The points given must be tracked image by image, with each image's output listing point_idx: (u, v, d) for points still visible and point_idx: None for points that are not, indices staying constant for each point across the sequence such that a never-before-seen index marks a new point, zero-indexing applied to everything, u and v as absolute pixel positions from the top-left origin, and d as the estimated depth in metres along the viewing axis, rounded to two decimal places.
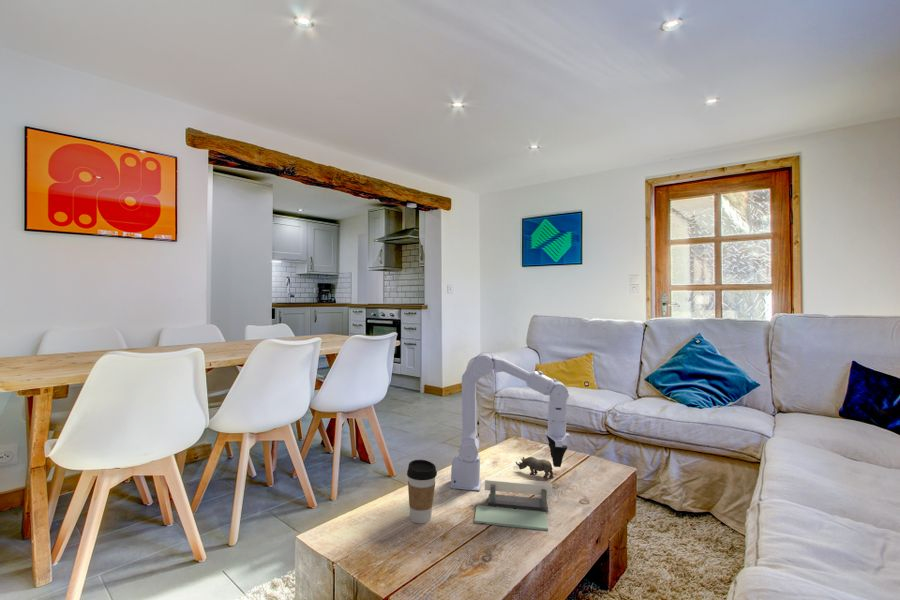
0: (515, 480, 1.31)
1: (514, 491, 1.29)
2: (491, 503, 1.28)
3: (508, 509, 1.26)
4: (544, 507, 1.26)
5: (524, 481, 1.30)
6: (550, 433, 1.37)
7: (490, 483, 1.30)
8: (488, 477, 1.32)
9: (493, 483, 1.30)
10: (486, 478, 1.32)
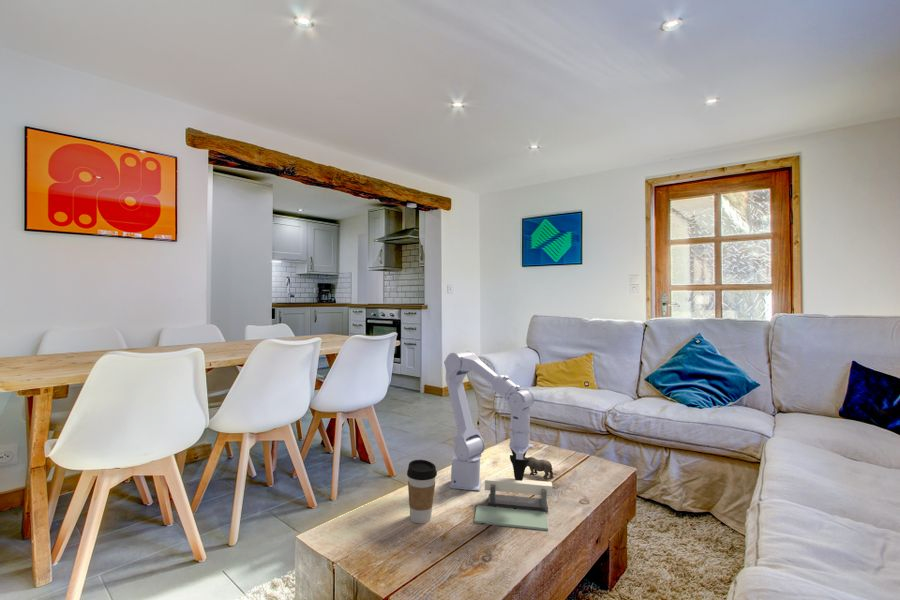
0: (515, 480, 1.31)
1: (514, 491, 1.29)
2: (491, 503, 1.28)
3: (508, 509, 1.26)
4: (544, 507, 1.26)
5: (524, 481, 1.30)
6: (512, 444, 1.29)
7: (490, 483, 1.30)
8: (488, 477, 1.32)
9: (493, 483, 1.30)
10: (486, 478, 1.32)
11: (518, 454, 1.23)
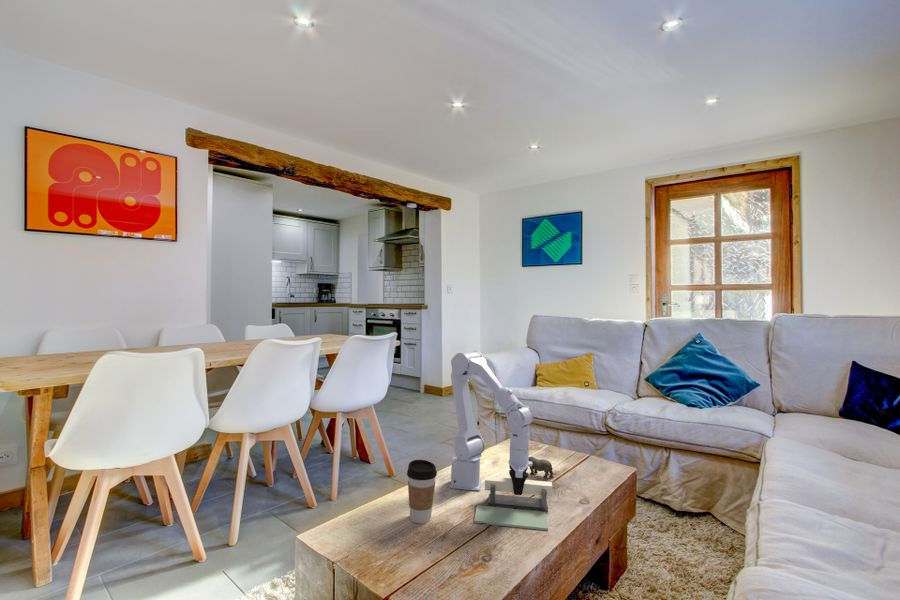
0: None
1: None
2: (491, 503, 1.28)
3: (508, 509, 1.26)
4: (544, 507, 1.26)
5: None
6: (511, 461, 1.29)
7: (490, 483, 1.30)
8: (488, 477, 1.32)
9: (493, 483, 1.30)
10: (486, 478, 1.32)
11: (517, 472, 1.23)
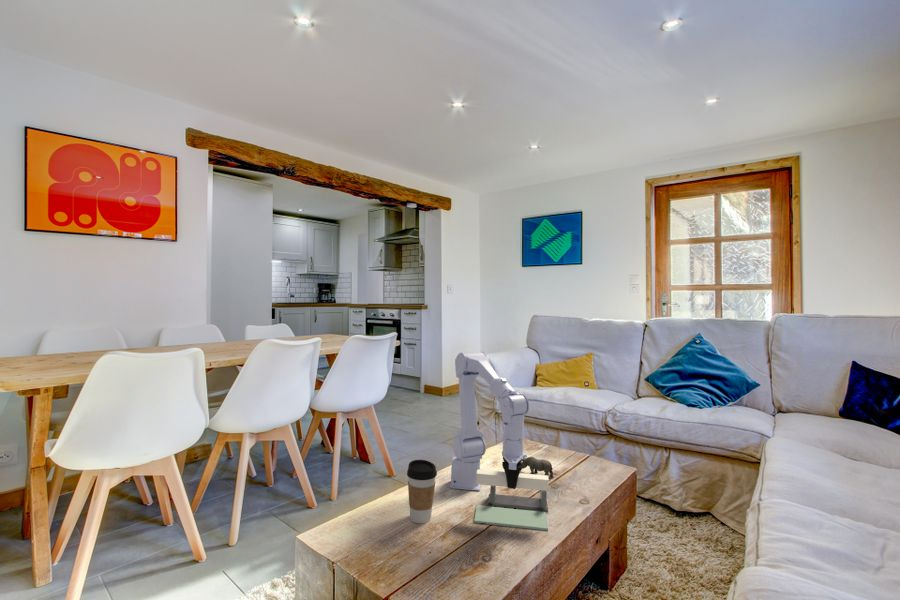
0: None
1: None
2: (491, 503, 1.28)
3: (508, 509, 1.26)
4: (544, 507, 1.26)
5: None
6: (505, 453, 1.20)
7: (482, 477, 1.21)
8: (479, 470, 1.24)
9: (486, 477, 1.21)
10: (478, 471, 1.23)
11: (511, 464, 1.15)
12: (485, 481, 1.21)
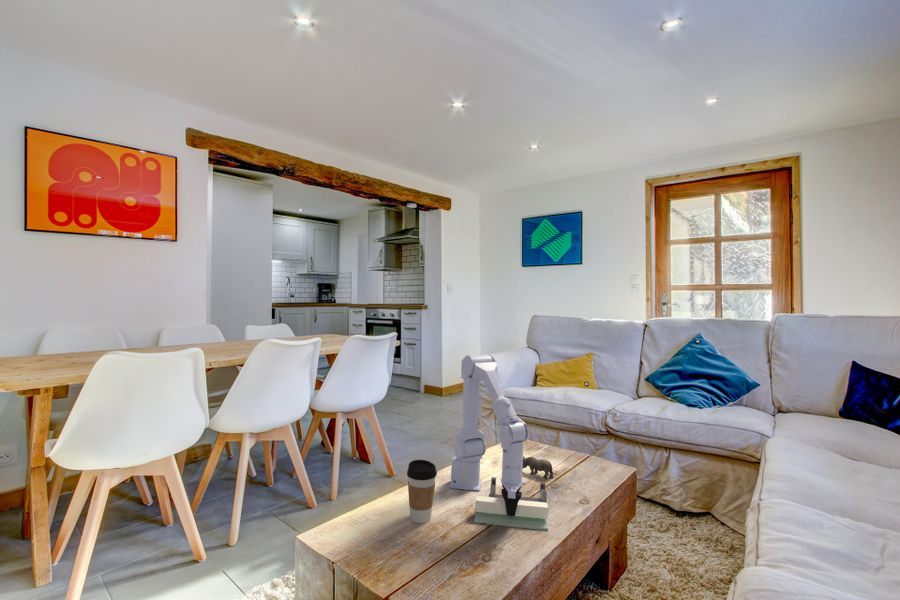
0: None
1: None
2: None
3: None
4: None
5: None
6: (504, 480, 1.20)
7: (481, 504, 1.21)
8: (479, 497, 1.24)
9: (485, 504, 1.21)
10: (477, 498, 1.23)
11: (510, 492, 1.15)
12: (484, 508, 1.21)
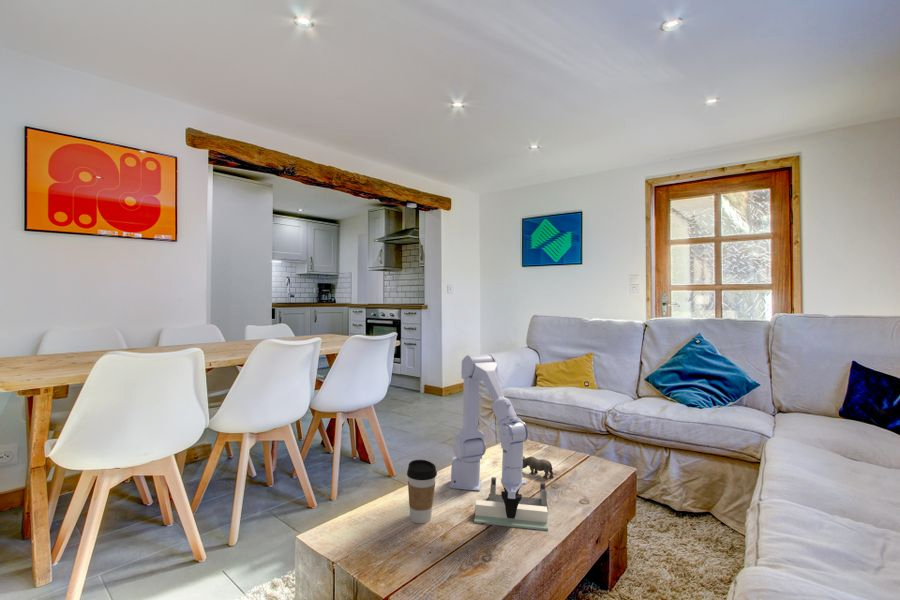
0: None
1: None
2: None
3: None
4: None
5: None
6: (504, 480, 1.20)
7: (481, 508, 1.21)
8: (479, 501, 1.24)
9: (485, 508, 1.21)
10: (477, 502, 1.23)
11: (510, 493, 1.15)
12: (484, 512, 1.21)
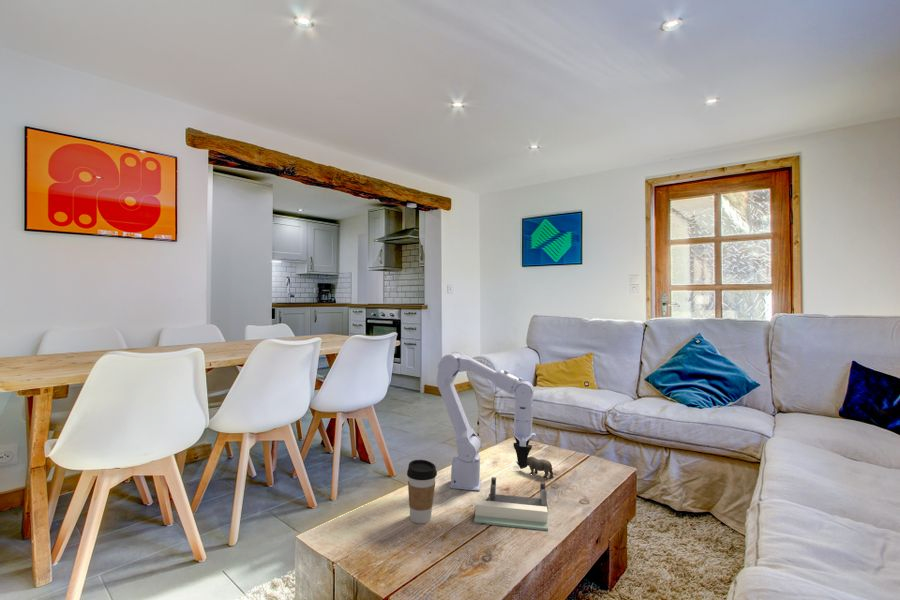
0: (508, 504, 1.22)
1: (507, 517, 1.20)
2: None
3: None
4: None
5: (517, 506, 1.21)
6: (516, 432, 1.36)
7: (481, 508, 1.21)
8: (479, 501, 1.24)
9: (485, 508, 1.21)
10: (477, 502, 1.23)
11: (521, 441, 1.30)
12: (484, 512, 1.21)
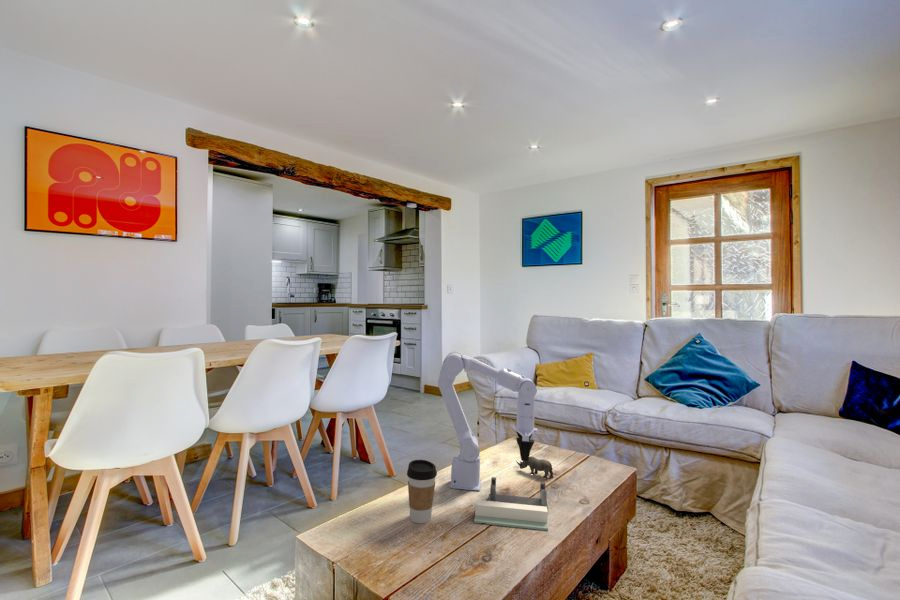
0: (508, 504, 1.22)
1: (507, 517, 1.20)
2: None
3: None
4: None
5: (517, 506, 1.21)
6: (518, 428, 1.40)
7: (481, 508, 1.21)
8: (479, 501, 1.24)
9: (485, 508, 1.21)
10: (477, 502, 1.23)
11: (524, 436, 1.35)
12: (484, 512, 1.21)
